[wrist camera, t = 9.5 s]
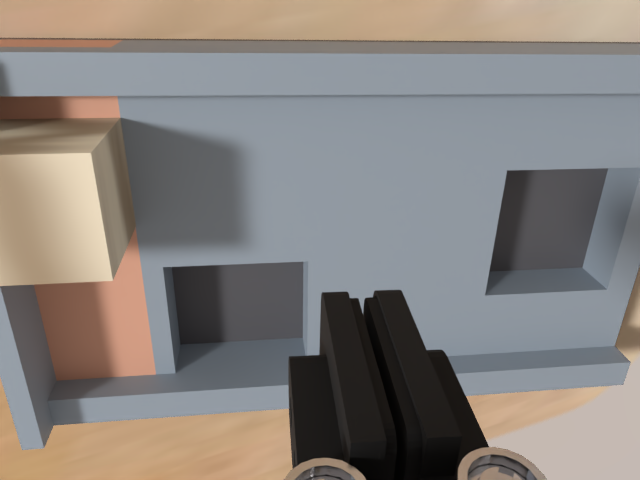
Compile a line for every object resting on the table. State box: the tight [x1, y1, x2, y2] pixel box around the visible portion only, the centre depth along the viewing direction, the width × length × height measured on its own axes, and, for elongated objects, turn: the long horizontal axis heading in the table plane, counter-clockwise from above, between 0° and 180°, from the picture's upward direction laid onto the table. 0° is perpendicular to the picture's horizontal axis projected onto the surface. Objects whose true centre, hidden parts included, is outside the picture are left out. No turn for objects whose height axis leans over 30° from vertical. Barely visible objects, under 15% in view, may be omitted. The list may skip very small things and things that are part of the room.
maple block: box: [0, 118, 136, 286], centre depth 22 cm, size 5×5×5 cm
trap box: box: [0, 38, 640, 450], centre depth 27 cm, size 32×18×6 cm, turn 89°
